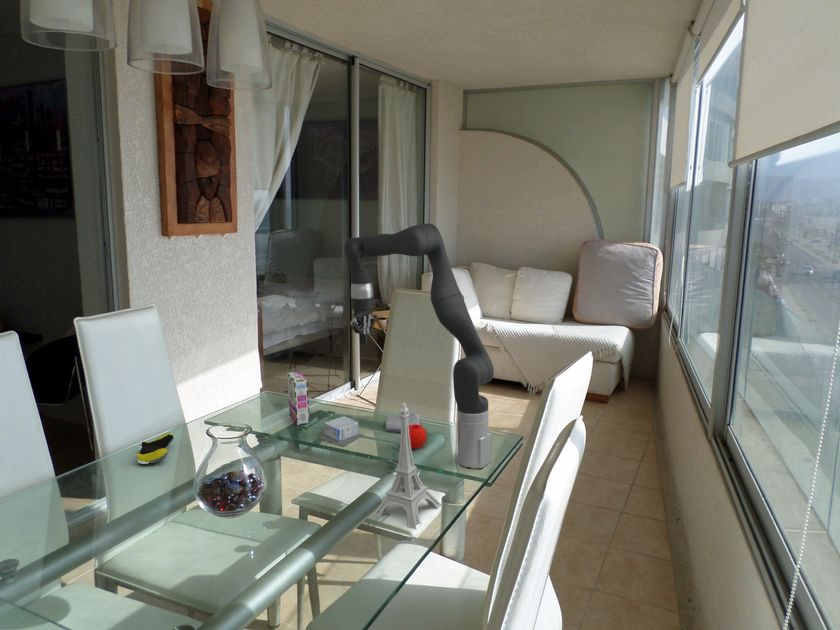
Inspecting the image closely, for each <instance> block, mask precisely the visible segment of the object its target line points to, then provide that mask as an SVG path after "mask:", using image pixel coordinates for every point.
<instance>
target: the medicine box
mask: <svg viewBox="0 0 840 630" xmlns="http://www.w3.org/2000/svg"><path fill="white" fill-rule="evenodd" d="M323 423H324V426H323V429H324V435H325V436H329V437H331V438H333V439H335V440H337V441H341V440H344V439H346V438H349V437H352V436H355V435H357V434H360V429H359V422H358V421H356V420H354V419H351V418H350V417H347V416H345V415H343V416H340V417H337V418H334V419H331V420H328V421H325V422H323Z"/></svg>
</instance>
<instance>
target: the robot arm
mask: <svg viewBox="0 0 840 630" xmlns="http://www.w3.org/2000/svg"><path fill="white" fill-rule="evenodd" d="M343 249H344V255H345V257H346V261H347V264H348V267H349V268H348V269H349V270H350V285H351V286H350V300H351V301H350V303H351V309H352V311H353V315H352V316H353V319H352V320H349V321H348V325H349V327H350V328H351V329H352V330H353V332H354V333H355V334H358V335H359V342H360V344H361V345H362V346H366V345H368V344H369V334H370V331H373V329H374V326H375V324H376V321H377V319H378V315H376V314H374V313H373V309H374V307H375V306H374V287H373V281H372V280H373V278H372V277H373V276H372V267H371V266H370V265H368V264H363V263H362V262H361V259H363V258H364V259H365V258H370V257H374V258H375V257H385V256H391V255H403V256H409V257H423V256H427V259H428V261H429V264H430V267H431V272H432V279H431V284H430V285H431V287H430V301H431V305H432V307H433V309H434V314H435V315H436V318H437V319H438V322H440V324H441V325H442V326H443V327H444V328H445V329H446V330H447V331H448V332H449V333H450V334H451V335H452V336H453V337H454V338H455V339H456V340H457V341H458V343H459V344H460V346H461V348H462V351H463V353H464V355H465V357H463V358H460V359H459V360H457V361H456V362H455V363H454V366H453V368H452V369H453V370H452V379H453V380H452V381H453V396H454V400H455V403H456V407H457V408H456V411H457V413H456V414H457V415H456V416H457V417H456V418H457V419H456V421H457V429H456V430H457V463H458V464H459V465H460V464H461V465H462V466H461V465H460V466H461V467H463V466H466V467H471V468H470V469H478V468H482V467H483V468H484V466H485V465H486V466H487V465H489V464H490V463H491V462H492V432H491V431H489V400H488V398H487V397H486V396H484V395H481V394H480V391H479V388H480V387H481V386H483V385H485V384H487V383H490V382H491V381H492V380H493V378H494V374H495V371H494V370H495V369H494V365H493V362H492V359H491V357H490V355H489V354H488V351H487V350H486V348H485V346H484V344H483V341H482V340H481V338H480V336H479V334H478V332H477V330H476V328H475V325H474V323H473V321H472V318H471V315H470V313H469V310H468V308H467V304H466V302H465V300H464V297H463V295H462V293H461V290H460V288H459V285H458V282H457V280H456V277H455V275H454V272H453V269H452V266H451V263H450V261H449V258H448V257H449V256H448V254H447V250H446V247H445V243H444V240H443V237H442V235H441V232H440V230H439V229H438V227H437V226H436V225H435V224H433V223H431V222H429V223H428V222H427V223H422V224H415V225H411V226H409V227H406V228H404V229H402V230H400V231H397V232H395V233H379V234H378V233H377V234H372V235H367V236H366V235H365V236H359V237H350V238H347V240H346V241H345V243H344V248H343ZM488 463H489V464H488ZM486 466H485V467H486ZM466 467H465V468H466ZM483 468H482V469H483Z"/></svg>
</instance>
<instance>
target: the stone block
mask: <svg viewBox="0 0 840 630" xmlns="http://www.w3.org/2000/svg"><path fill="white" fill-rule="evenodd" d="M409 414H410V415H409V417H408V425H414V424H418V425H421V415H420V414H418V413H416V412H411V413H410V412H409ZM399 415H400V414H394V413H391V414H389V415H388V416H386V423H385V431H387V432H391V431H394V432H393V433H400V434H401V418H400V417H399Z"/></svg>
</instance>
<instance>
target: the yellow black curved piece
mask: <svg viewBox="0 0 840 630" xmlns="http://www.w3.org/2000/svg"><path fill="white" fill-rule="evenodd" d="M174 439H175V438H174V435H173V433H170V432H168V433H164V434H162V435H161V436H159V437H157V438H156V439H154V440H152V441H142V442H140V443H139V446H140V449H141V450H140V449H139V453H138V452H137V453H134V456H135V457H136V458H137V459H139V460H140V461H145V462H149V463H152V464H156V463H155V462H158V463H161V462H162V461H163V460H164V459H166V457H167V456H168V455H169V451H168V448H167V449H165V448H166V447H169V446H170V445H172V442H173V441H174ZM141 446H142V448H141ZM137 459H136V460H137Z"/></svg>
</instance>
